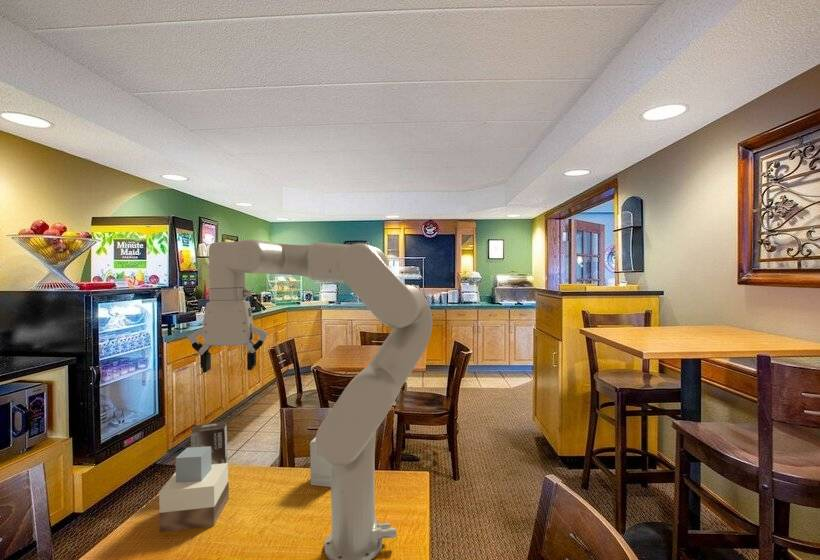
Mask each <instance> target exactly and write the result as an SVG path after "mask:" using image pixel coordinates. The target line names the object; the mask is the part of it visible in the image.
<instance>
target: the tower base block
mask: <svg viewBox="0 0 820 560" xmlns="http://www.w3.org/2000/svg"><path fill="white" fill-rule="evenodd" d="M229 485H230V483H229V480H228V483H227V485H226V486H225V488H224V490H223V492H222V494H221V496H220V497H219V499H218V501H217V503H216V505H215V507H208V508H199V509H190V510H181V511H172V512H163V513H160V511H158V512H159V513H158V514H159V533H161V532H172V531H181V530H189V529H197V528H208V527H214V526H215V525H216V523H217V521H218V520H219V518H220V516H221V514H222V512H223V510H224V508H225V506H226V505H227V503H228V501H229V500H230V497H229V496H230V491H229V490H230V488H229V487H230V486H229Z"/></svg>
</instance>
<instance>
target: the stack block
mask: <svg viewBox="0 0 820 560" xmlns="http://www.w3.org/2000/svg"><path fill="white" fill-rule="evenodd" d="M211 469H212V466H211V446H208V447H191V446H190V447H186V448H184V450H183V451H182V452H181V453H179V454H178V455H177V456H176V457H175V472H176V483H177V482H193V481H202V480H203V479H204V478H205V476H206V475H207V474H208V473H209V472H210V471H211Z"/></svg>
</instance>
